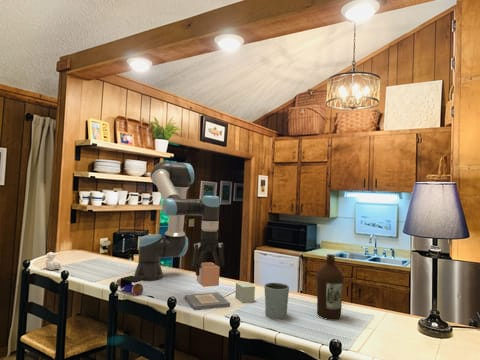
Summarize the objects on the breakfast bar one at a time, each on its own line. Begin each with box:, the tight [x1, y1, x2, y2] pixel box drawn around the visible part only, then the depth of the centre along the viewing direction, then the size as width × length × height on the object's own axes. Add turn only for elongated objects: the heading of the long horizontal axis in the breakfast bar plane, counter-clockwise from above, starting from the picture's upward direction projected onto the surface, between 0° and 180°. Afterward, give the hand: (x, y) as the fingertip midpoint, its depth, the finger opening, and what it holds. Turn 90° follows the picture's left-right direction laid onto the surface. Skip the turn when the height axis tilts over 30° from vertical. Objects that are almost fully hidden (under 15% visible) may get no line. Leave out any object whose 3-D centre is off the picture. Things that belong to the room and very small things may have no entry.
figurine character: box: [116, 275, 146, 296], centre depth 162 cm, size 7×8×15 cm
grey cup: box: [264, 282, 290, 320], centre depth 139 cm, size 10×10×12 cm
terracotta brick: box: [196, 261, 221, 288], centre depth 152 cm, size 10×7×8 cm
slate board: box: [184, 292, 231, 311], centre depth 152 cm, size 16×16×2 cm
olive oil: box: [316, 253, 344, 320], centre depth 142 cm, size 11×11×25 cm
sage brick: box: [234, 281, 256, 304], centre depth 158 cm, size 8×6×7 cm
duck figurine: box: [45, 251, 62, 271], centre depth 198 cm, size 12×8×11 cm
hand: (207, 282), depth 152 cm, fingers closed on terracotta brick, 7 cm apart
